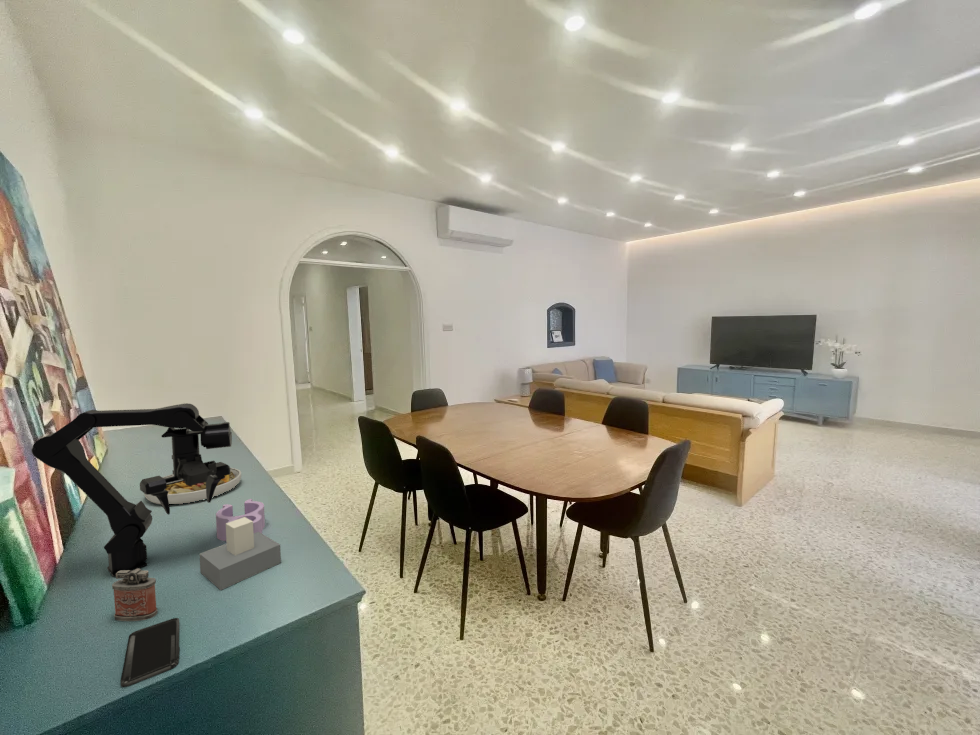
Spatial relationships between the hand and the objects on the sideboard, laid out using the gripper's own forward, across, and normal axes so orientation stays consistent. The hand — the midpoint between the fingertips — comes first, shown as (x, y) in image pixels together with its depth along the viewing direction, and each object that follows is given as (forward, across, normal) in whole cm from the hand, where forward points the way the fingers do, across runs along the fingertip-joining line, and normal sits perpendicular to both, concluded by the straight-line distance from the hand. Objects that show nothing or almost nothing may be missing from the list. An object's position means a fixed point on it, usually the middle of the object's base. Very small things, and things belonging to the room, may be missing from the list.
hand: (189, 507), depth 108 cm
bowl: (+14, +18, +52) cm, 57 cm away
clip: (+13, +13, +1) cm, 19 cm away
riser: (+13, +5, -18) cm, 23 cm away
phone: (+14, -17, -34) cm, 40 cm away
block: (+8, +5, -18) cm, 20 cm away
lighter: (+13, -16, -19) cm, 28 cm away
